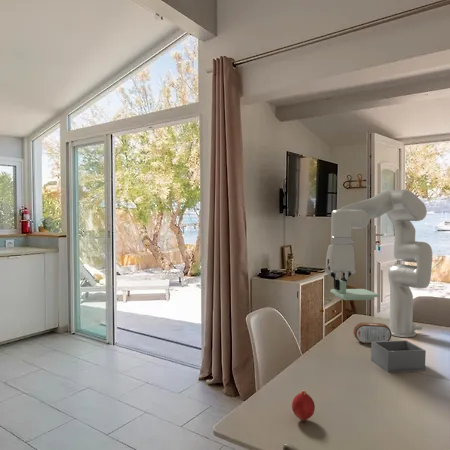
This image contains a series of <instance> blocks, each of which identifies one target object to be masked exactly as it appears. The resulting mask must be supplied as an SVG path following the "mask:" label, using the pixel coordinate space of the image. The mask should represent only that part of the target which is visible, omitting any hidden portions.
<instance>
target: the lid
mask: <svg viewBox="0 0 450 450" xmlns="http://www.w3.org/2000/svg"><path fill="white" fill-rule="evenodd" d="M339 280H340V287H339V290H336V289H334V288H332V289H330V293H332V294H333V295H334V296H335V297H337V298H339V299H341V300H344V301H370V300H375V298H380V294H379V293H376V292H373V291H372V290H368V289H366V288H347V287H346V282H345V281H342V280H341V279H339Z"/></svg>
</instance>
